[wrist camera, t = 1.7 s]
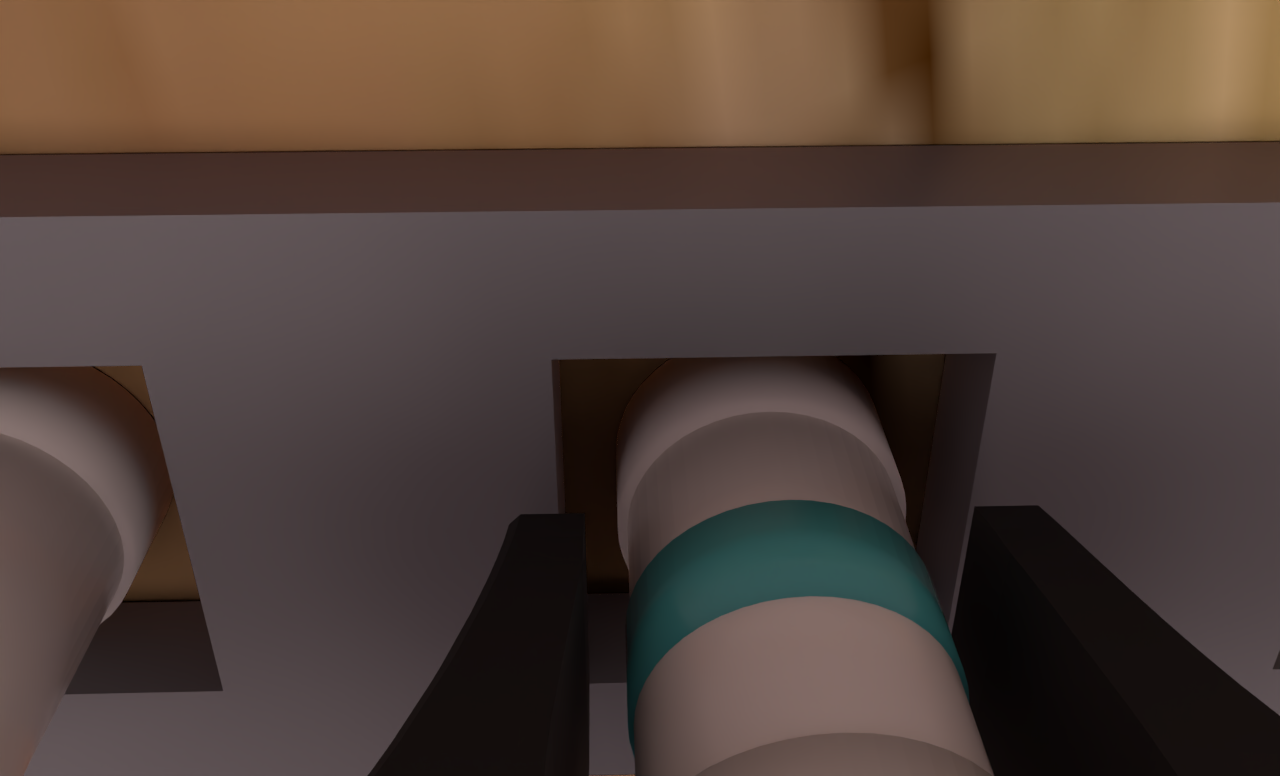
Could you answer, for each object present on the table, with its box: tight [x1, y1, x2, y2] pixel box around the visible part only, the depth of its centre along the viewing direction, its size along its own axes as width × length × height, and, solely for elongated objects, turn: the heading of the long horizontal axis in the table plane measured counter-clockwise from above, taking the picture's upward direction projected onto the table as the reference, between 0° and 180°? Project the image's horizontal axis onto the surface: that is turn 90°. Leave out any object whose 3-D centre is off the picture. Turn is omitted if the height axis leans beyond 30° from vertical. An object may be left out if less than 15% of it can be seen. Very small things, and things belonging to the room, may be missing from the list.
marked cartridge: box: [616, 356, 994, 776], centre depth 11 cm, size 3×3×7 cm
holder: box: [0, 142, 1280, 776], centre depth 13 cm, size 7×24×2 cm, turn 90°
